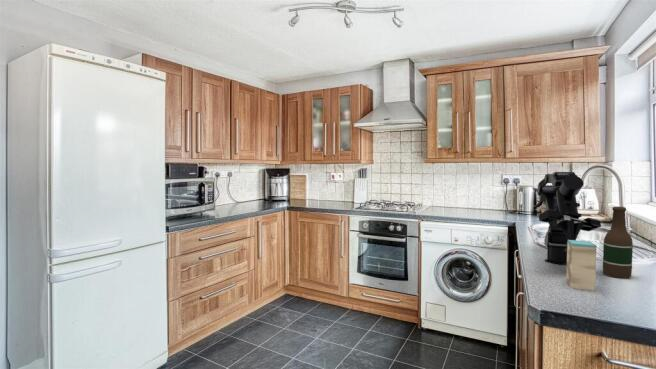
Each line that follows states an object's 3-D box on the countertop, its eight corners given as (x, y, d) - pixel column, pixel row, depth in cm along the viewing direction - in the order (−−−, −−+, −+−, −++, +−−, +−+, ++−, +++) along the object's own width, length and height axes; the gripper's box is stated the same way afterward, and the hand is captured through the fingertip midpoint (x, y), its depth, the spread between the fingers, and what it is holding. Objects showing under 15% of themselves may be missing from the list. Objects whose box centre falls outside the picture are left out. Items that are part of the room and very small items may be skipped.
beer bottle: (621, 280, 111) (623, 208, 110) (596, 273, 119) (599, 206, 117) (637, 277, 113) (640, 207, 112) (612, 271, 121) (615, 205, 119)
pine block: (566, 281, 109) (567, 239, 109) (588, 284, 107) (590, 241, 106) (571, 287, 104) (572, 243, 103) (595, 290, 102) (596, 245, 101)
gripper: (575, 215, 129) (580, 254, 122) (527, 205, 129) (530, 243, 122) (598, 204, 119) (606, 246, 112) (547, 193, 119) (551, 235, 112)
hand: (572, 243), depth 115 cm, fingers closed
